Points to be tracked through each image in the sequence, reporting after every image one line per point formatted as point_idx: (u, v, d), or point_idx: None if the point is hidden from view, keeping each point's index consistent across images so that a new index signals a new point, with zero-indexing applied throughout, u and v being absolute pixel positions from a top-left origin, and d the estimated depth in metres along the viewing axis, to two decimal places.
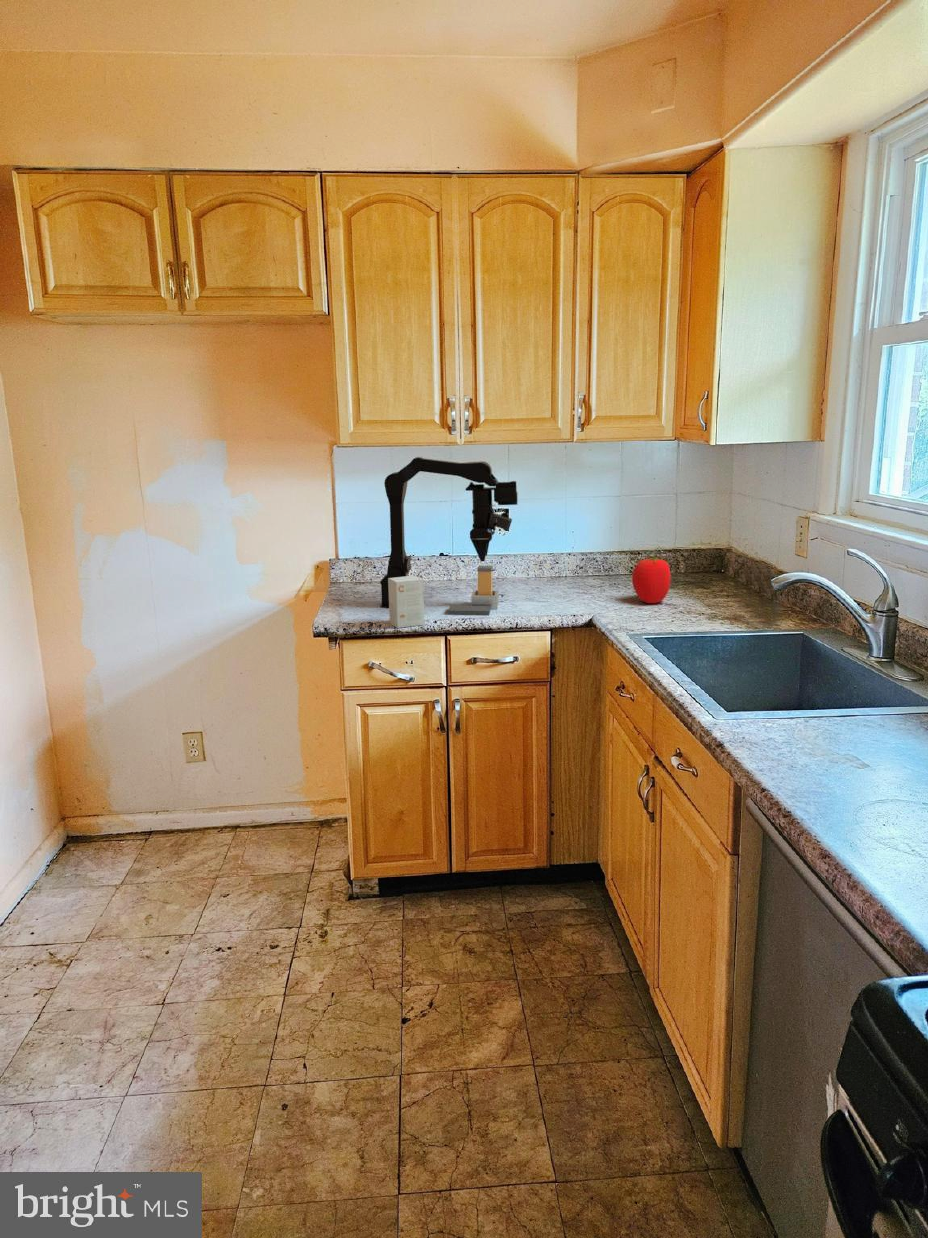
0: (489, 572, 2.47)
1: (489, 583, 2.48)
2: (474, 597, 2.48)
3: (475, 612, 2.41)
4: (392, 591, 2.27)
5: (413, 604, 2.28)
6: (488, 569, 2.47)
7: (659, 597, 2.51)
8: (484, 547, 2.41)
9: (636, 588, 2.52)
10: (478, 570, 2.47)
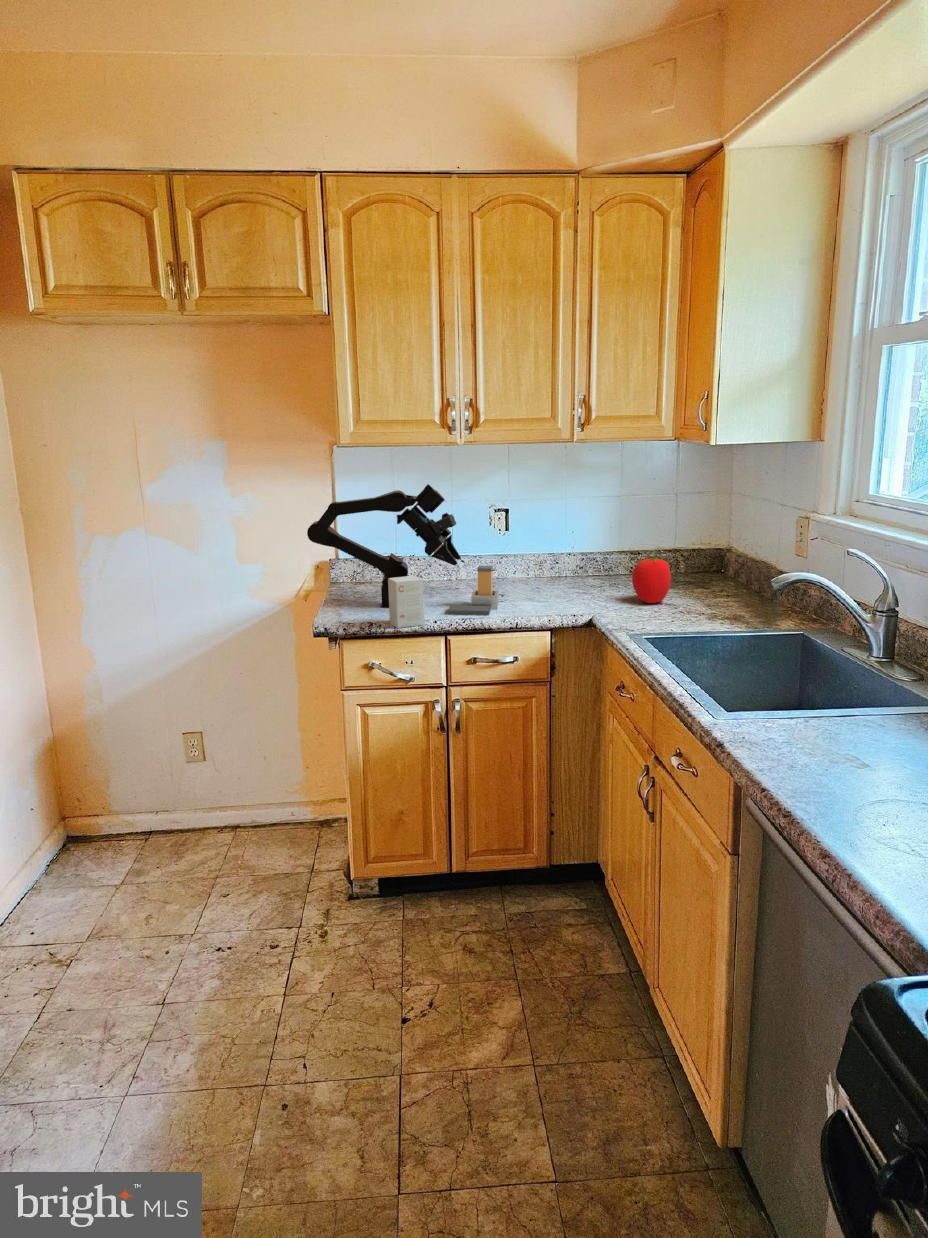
0: (489, 572, 2.47)
1: (489, 583, 2.48)
2: (474, 597, 2.48)
3: (475, 612, 2.41)
4: (392, 591, 2.27)
5: (413, 604, 2.28)
6: (488, 569, 2.47)
7: (659, 597, 2.51)
8: (447, 553, 2.43)
9: (636, 588, 2.52)
10: (478, 570, 2.47)
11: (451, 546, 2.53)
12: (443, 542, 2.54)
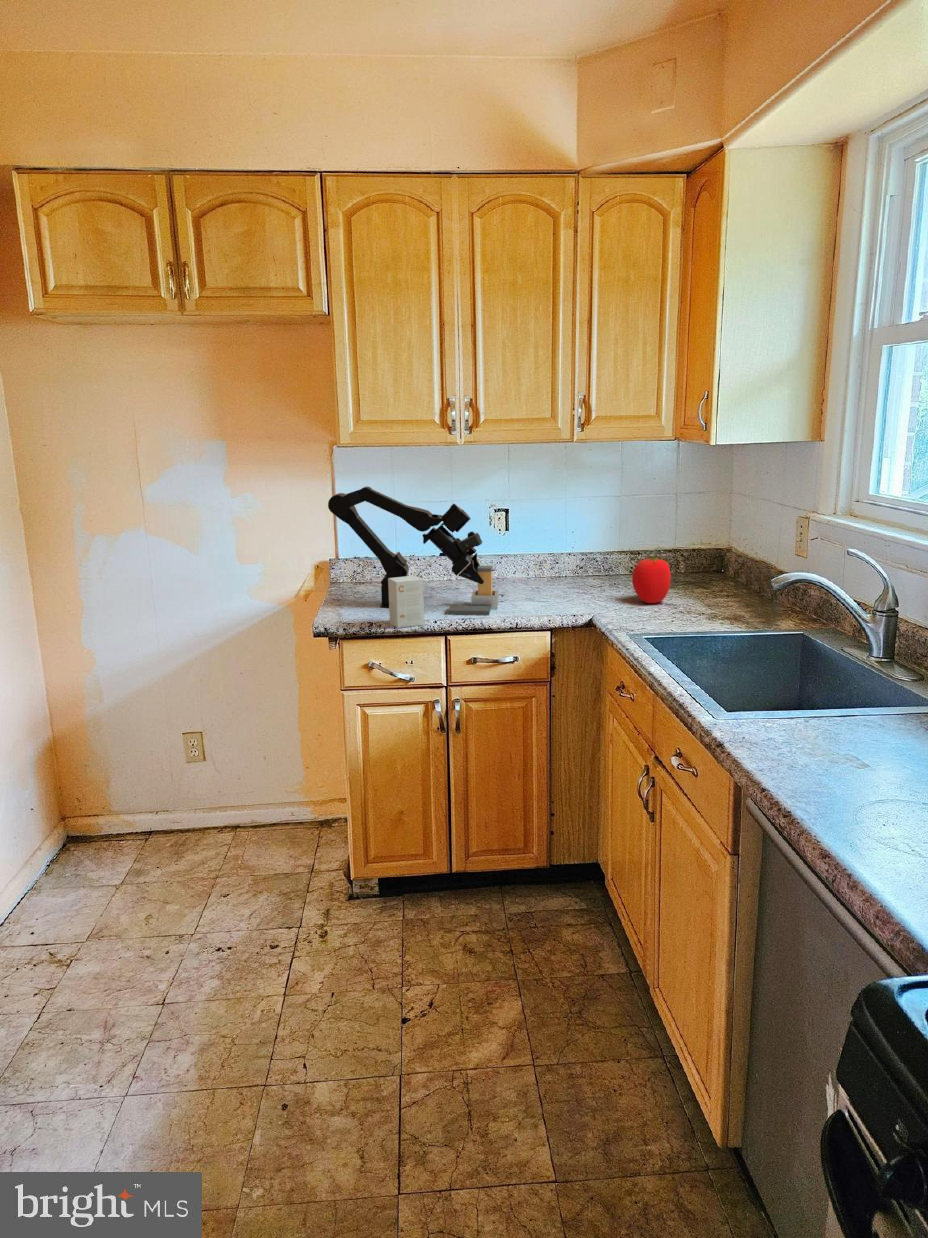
0: (489, 572, 2.47)
1: (489, 583, 2.48)
2: (474, 597, 2.48)
3: (475, 612, 2.41)
4: (392, 591, 2.27)
5: (413, 604, 2.28)
6: (488, 569, 2.47)
7: (659, 597, 2.51)
8: (474, 572, 2.44)
9: (636, 588, 2.52)
10: (478, 570, 2.47)
11: (477, 564, 2.54)
12: None
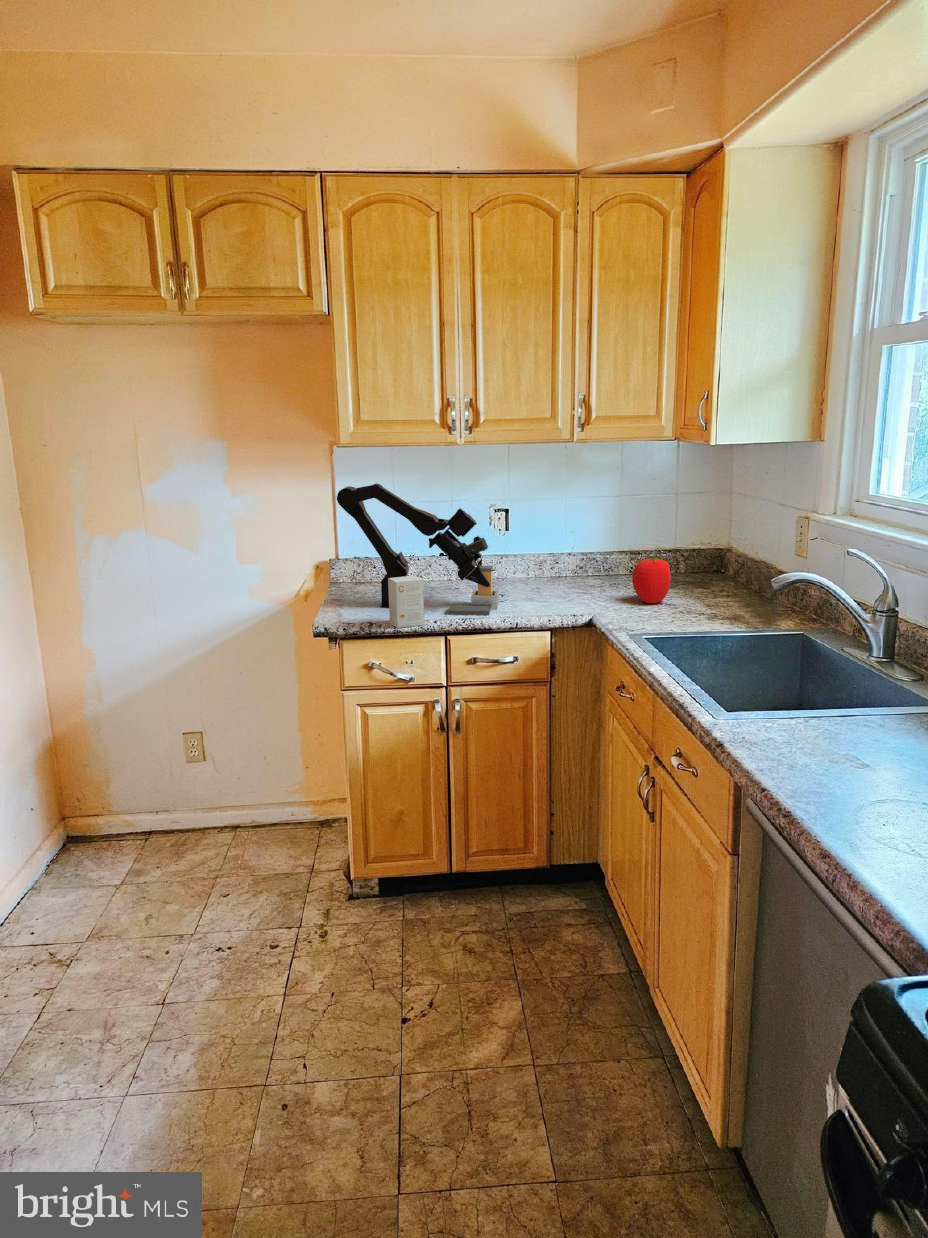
0: (489, 572, 2.47)
1: None
2: (474, 597, 2.48)
3: (475, 612, 2.41)
4: (392, 591, 2.27)
5: (413, 604, 2.28)
6: (488, 569, 2.47)
7: (659, 597, 2.51)
8: (480, 575, 2.46)
9: (636, 588, 2.52)
10: None
11: None
12: None
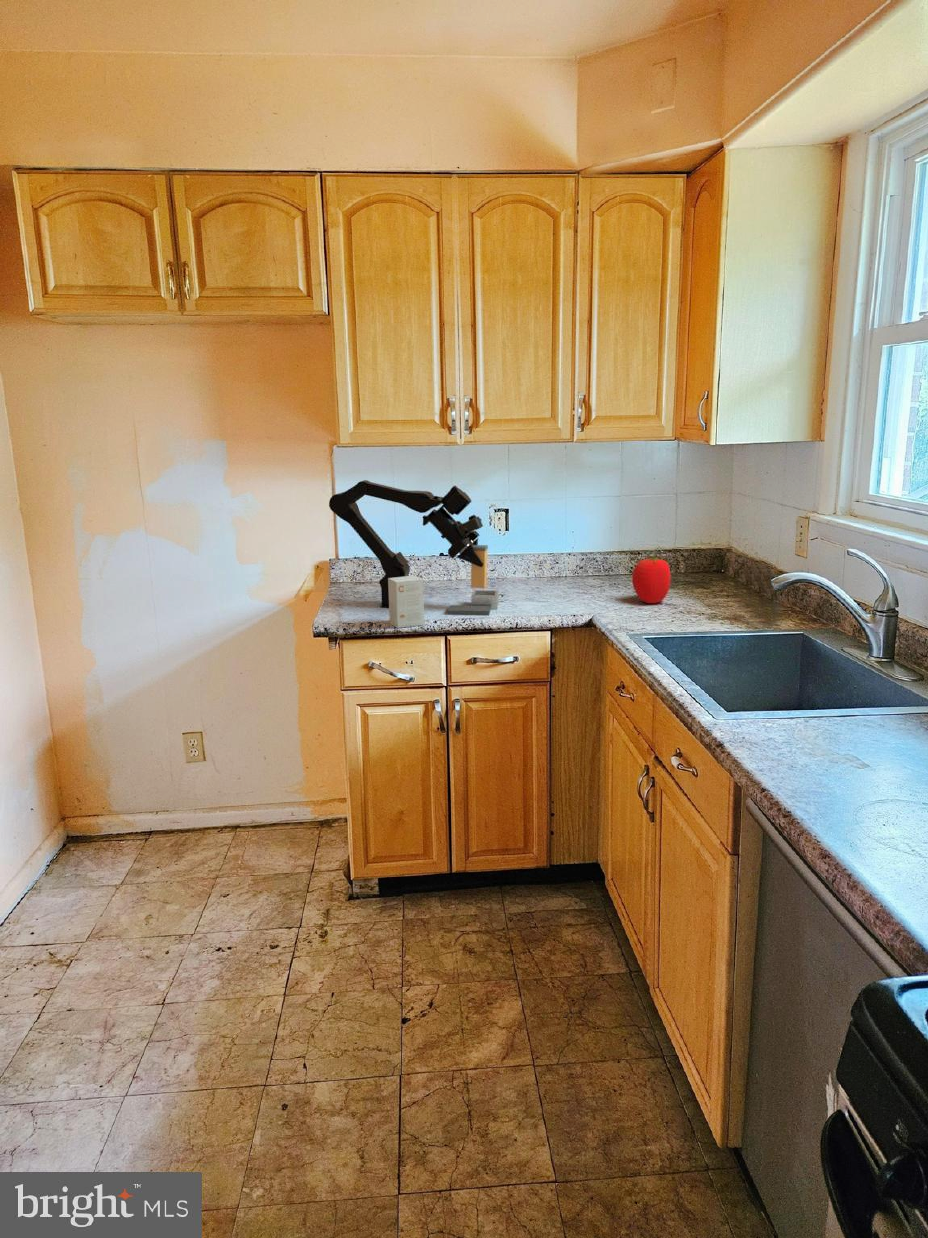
0: (482, 551, 2.42)
1: None
2: (474, 597, 2.48)
3: (475, 612, 2.41)
4: (392, 591, 2.27)
5: (413, 604, 2.28)
6: (481, 548, 2.42)
7: (659, 597, 2.51)
8: (473, 554, 2.41)
9: (636, 588, 2.52)
10: None
11: None
12: None
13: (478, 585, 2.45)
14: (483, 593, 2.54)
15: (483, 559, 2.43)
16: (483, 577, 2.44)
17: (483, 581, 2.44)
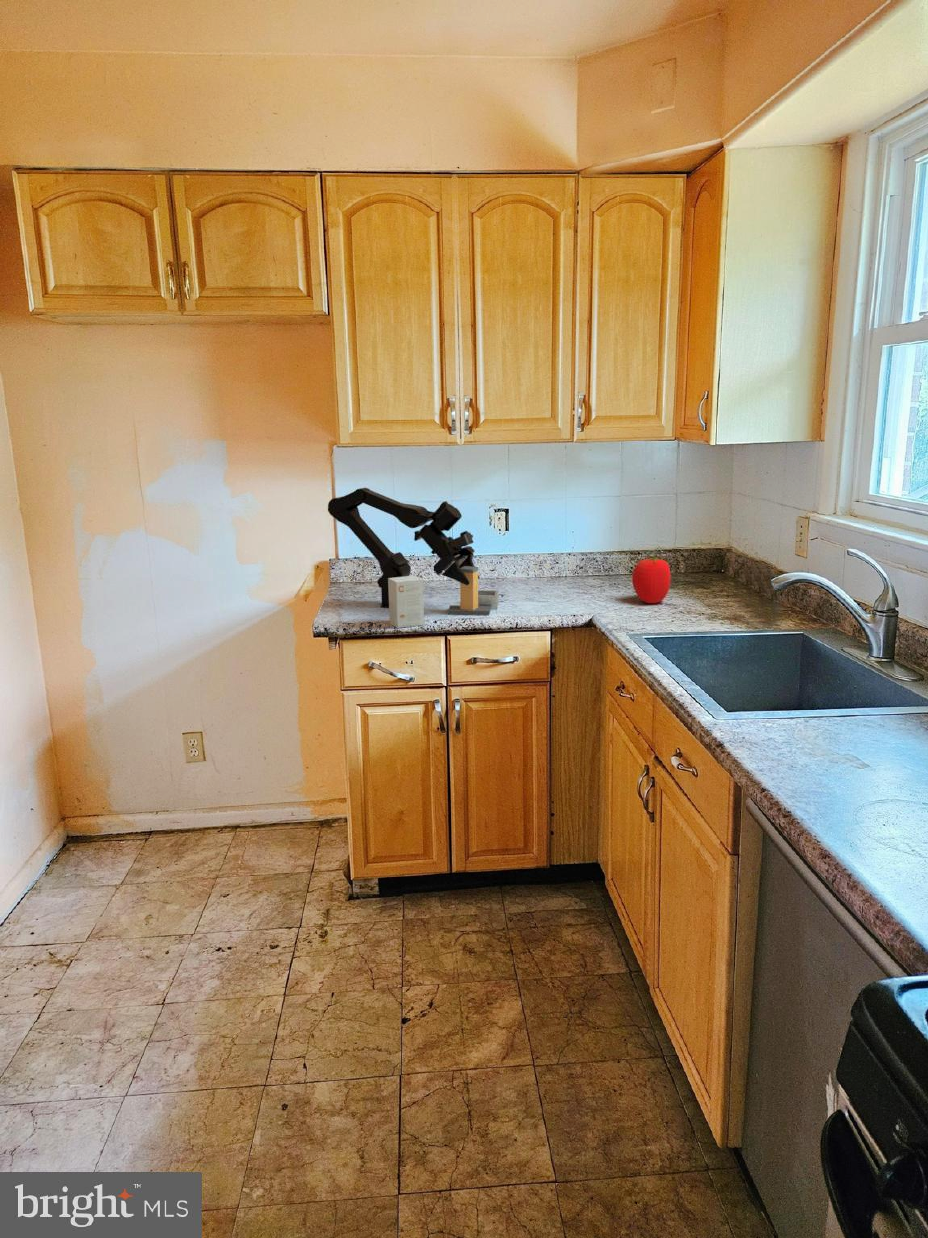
0: (471, 573, 2.39)
1: (471, 585, 2.40)
2: None
3: (475, 612, 2.41)
4: (392, 591, 2.27)
5: (413, 604, 2.28)
6: (470, 570, 2.39)
7: (659, 597, 2.51)
8: (458, 572, 2.37)
9: (636, 588, 2.52)
10: None
11: (470, 565, 2.46)
12: (463, 561, 2.47)
13: (467, 607, 2.42)
14: (483, 593, 2.54)
15: (471, 581, 2.40)
16: (472, 599, 2.41)
17: (472, 603, 2.42)
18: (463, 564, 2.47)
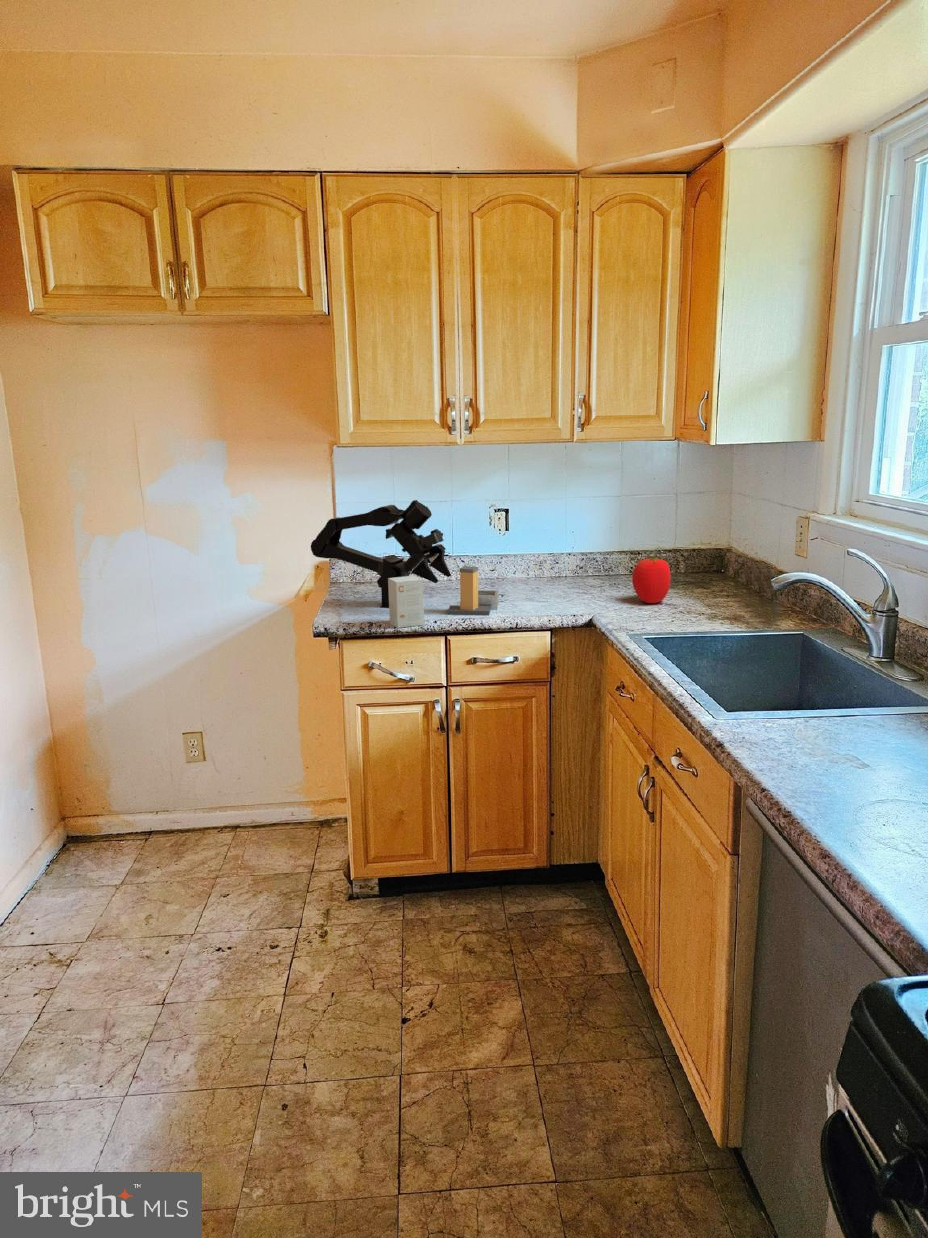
0: (471, 573, 2.39)
1: (471, 585, 2.40)
2: None
3: (475, 612, 2.41)
4: (392, 591, 2.27)
5: (413, 604, 2.28)
6: (470, 570, 2.39)
7: (659, 597, 2.51)
8: (427, 570, 2.40)
9: (636, 588, 2.52)
10: (460, 571, 2.40)
11: (442, 563, 2.50)
12: (435, 558, 2.51)
13: (467, 607, 2.42)
14: (483, 593, 2.54)
15: (471, 581, 2.40)
16: (472, 599, 2.41)
17: (472, 603, 2.42)
18: (435, 561, 2.51)
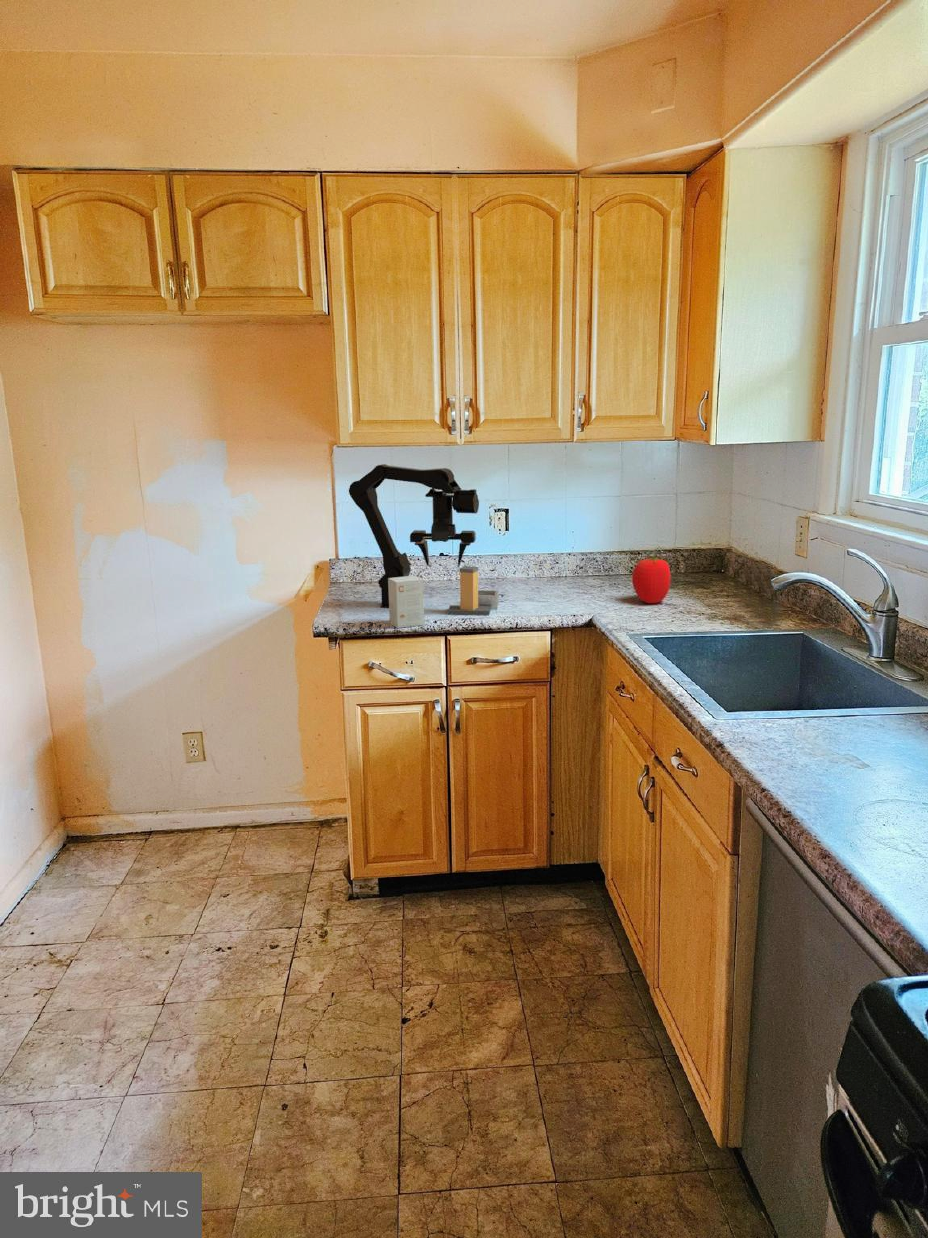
0: (471, 573, 2.39)
1: (471, 585, 2.40)
2: None
3: (475, 612, 2.41)
4: (392, 591, 2.27)
5: (413, 604, 2.28)
6: (470, 570, 2.39)
7: (659, 597, 2.51)
8: None
9: (636, 588, 2.52)
10: (460, 571, 2.40)
11: (459, 551, 2.44)
12: None
13: (467, 607, 2.42)
14: (483, 593, 2.54)
15: (471, 581, 2.40)
16: (472, 599, 2.41)
17: (472, 603, 2.42)
18: None
